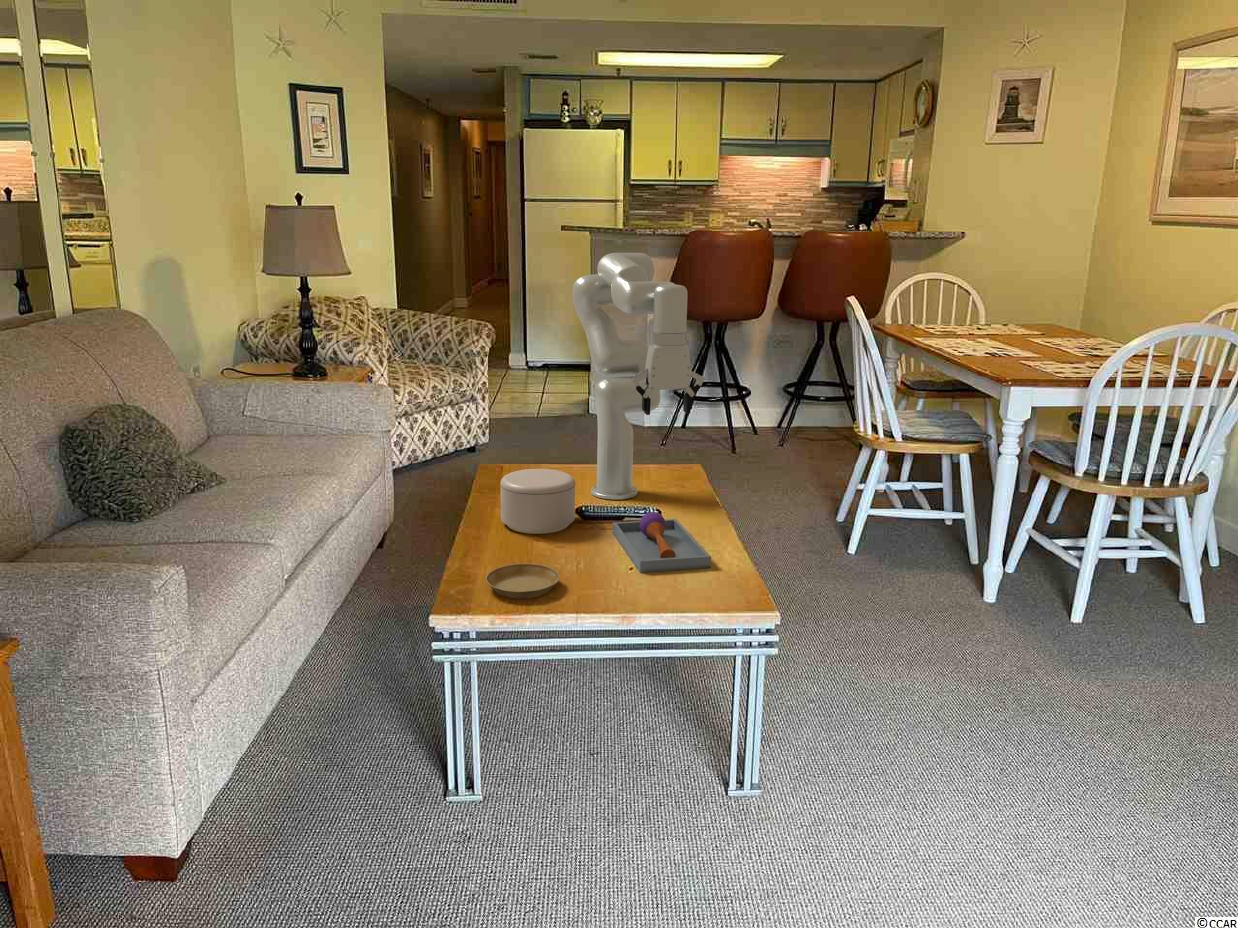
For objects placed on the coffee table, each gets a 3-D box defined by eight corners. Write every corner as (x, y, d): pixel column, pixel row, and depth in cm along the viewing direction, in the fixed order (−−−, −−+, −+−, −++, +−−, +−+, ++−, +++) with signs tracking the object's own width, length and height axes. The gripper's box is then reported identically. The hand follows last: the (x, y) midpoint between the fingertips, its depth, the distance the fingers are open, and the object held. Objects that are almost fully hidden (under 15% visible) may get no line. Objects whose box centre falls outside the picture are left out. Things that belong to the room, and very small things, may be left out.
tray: (612, 533, 219) (612, 522, 218) (675, 529, 223) (676, 518, 222) (639, 572, 195) (640, 561, 194) (710, 567, 199) (710, 556, 198)
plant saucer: (508, 609, 176) (508, 597, 176) (472, 584, 188) (472, 572, 187) (573, 592, 185) (573, 580, 184) (535, 569, 196) (535, 558, 196)
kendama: (652, 546, 197) (635, 510, 216) (656, 571, 199) (639, 533, 218) (679, 540, 198) (660, 505, 216) (683, 565, 200) (664, 528, 219)
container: (490, 517, 229) (489, 471, 226) (557, 508, 237) (557, 464, 234) (516, 540, 213) (516, 491, 210) (587, 529, 221) (587, 482, 218)
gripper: (700, 337, 217) (697, 409, 221) (628, 338, 213) (626, 411, 217) (710, 341, 210) (707, 415, 214) (636, 342, 206) (634, 417, 210)
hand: (666, 413), depth 216 cm, fingers open, 9 cm apart
